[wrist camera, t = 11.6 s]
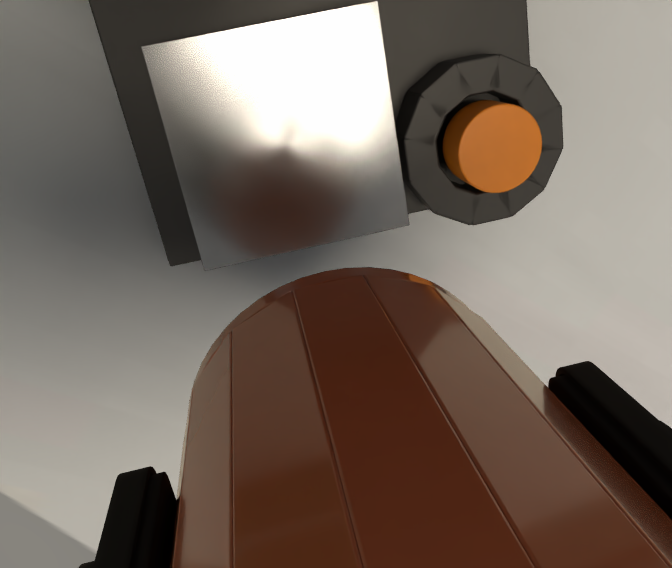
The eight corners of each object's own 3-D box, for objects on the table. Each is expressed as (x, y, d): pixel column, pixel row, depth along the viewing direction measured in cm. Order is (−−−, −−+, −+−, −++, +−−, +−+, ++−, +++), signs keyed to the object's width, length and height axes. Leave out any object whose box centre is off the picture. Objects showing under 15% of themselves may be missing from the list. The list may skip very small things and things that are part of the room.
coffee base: (176, 267, 25) (168, 295, 22) (25, -228, 19) (-11, -276, 16) (530, 188, 26) (565, 205, 23) (501, -303, 20) (544, -361, 17)
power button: (446, 191, 23) (462, 201, 21) (437, 108, 21) (453, 113, 20) (523, 174, 23) (545, 183, 21) (517, 92, 22) (540, 95, 20)
